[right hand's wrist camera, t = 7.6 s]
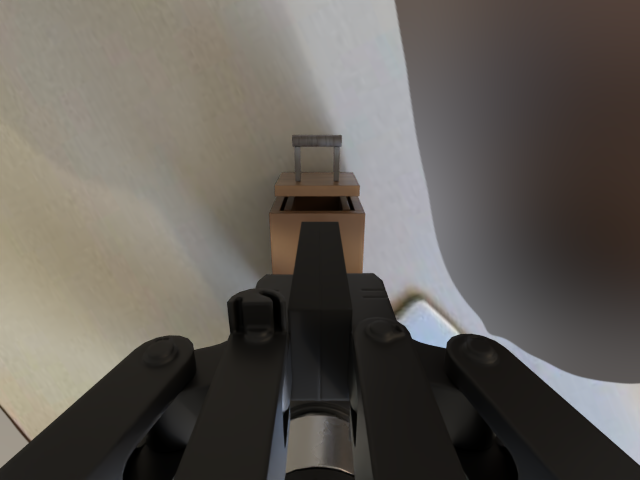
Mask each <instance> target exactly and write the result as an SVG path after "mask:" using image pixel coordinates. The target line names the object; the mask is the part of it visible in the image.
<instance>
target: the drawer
mask: <svg viewBox="0 0 640 480" xmlns="http://www.w3.org/2000/svg"><path fill="white" fill-rule="evenodd" d="M292 144H293V147H295V172H282V173H281V175H280V177H279V178H278V180H277V182H276V184H275V196H289V197H288V200H287V203H286V206H285V209H284V211H350V208H349V204H348V201H347V198H346V196H359V191H360V185H359V183H358V181H357V179H356V178H355V176H354V174H353V172H339V152H340V147H341V146H342V136H341V135H293V136H292ZM300 147H334V172H301V156H300Z"/></svg>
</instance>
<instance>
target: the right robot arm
mask: <svg viewBox="0 0 640 480" xmlns="http://www.w3.org/2000/svg"><path fill="white" fill-rule="evenodd" d="M227 307H228V316H229V325H230V335H229V338H228V341H225V342H223V343H221V344H218V345H214V346H211V347H206V348H201V349H196V350H194V347H193V343H192V342H191V341H190V340H189V339H188V338H185V337H182V336H170V335H169V336H164V337H158V338H155V339H153V340H150V341H148V342H145V343H144V344H142V345H141V346H139V347H138V348H136V349H135V350H134V351H133V352H131V353H130V354H129V355H128V356H127V357H126V358H125V359H124V360H122V361H121V362H120V363H119V364H118V365H117V366H116V367H114V368H113V369H112V370H111V371H110V372H109V373H108V374H107V375H105V376H104V377H103V378H102V379H101V380H100V381H99V382H98V383H96V384H95V385H94V386H93V387H92V388H91V389H90V390H88V391H87V392H86V393H85V394H84V395H83V396H82V397H81V398H79V399H78V400H77V401H76V402H75V403H74V404H73V405H72V406H70V407H69V408H68V409H67V410H66V411H65V412H64V413H62V414H61V415H60V416H59V417H58V418H57V419H56V420H55V421H53V422H52V423H51V424H50V425H49V426H48V427H47V428H45V429H44V430H43V431H42V432H41V433H40V434H39V435H38V436H36V437H35V438H34V439H33V440H32V441H31V442H30V443H29V444H27V445H26V446H25V447H24V448H23V449H22V450H21V451H19V452H18V453H17V454H16V455H15V456H14V457H13V458H12V459H10V460H9V461H8V462H7V463H6V464H5V465H4V466H3V467H1V468H0V480H285V473H286V462H287V451H288V440H289V429H290V396H291V401H349V394H350V419H349V441H352V450H353V461H354V472H355V480H640V465H639V464H637V463H636V462H635V461H634V460H633V459H632V458H631V457H629V456H628V455H627V454H626V453H625V452H624V451H623V450H621V449H620V448H619V447H618V446H617V445H616V444H615V443H613V442H612V441H611V440H610V439H609V438H608V437H607V436H606V435H604V434H603V433H602V432H601V431H600V430H599V429H598V428H596V427H595V426H594V425H593V424H592V423H591V422H590V421H588V420H587V419H586V418H585V417H584V416H583V415H582V414H580V413H579V412H578V411H577V410H576V409H575V408H574V407H572V406H571V405H570V404H569V403H568V402H567V401H566V400H564V399H563V398H562V397H561V396H560V395H559V394H558V393H556V392H555V391H554V390H553V389H552V388H551V387H550V386H548V385H547V384H546V383H545V382H544V381H543V380H542V379H541V378H539V377H538V376H537V375H536V374H535V373H534V372H533V371H531V370H530V369H529V368H528V367H527V366H526V365H525V364H523V363H522V362H521V361H520V360H519V359H518V358H517V357H515V356H514V355H513V354H512V353H511V352H510V351H509V350H507V349H506V348H505V347H504V346H502V345H501V344H499V343H498V342H496V341H494V340H492V339H489V338H487V337H484V336H480V335H475V334H460V335H457V336H454V337H452V338H451V339H450V340H449V341H448V342H447V347H446V348H441V347H437V346H432V345H428V344H424V343H420V342H418V341H416V340H414V339H412V338H411V335H410V333H409V331H408V330H407V328H406V327H405V326H404V325H402V324H401V323H399V322H398V321H397V320H396V318H395V315H394V312H393V309H392V306H391V304H390V301H389V298H388V295H387V292H386V291H385V287H384V284H383V281H382V280H381V279H380V278H379V277H377V276H376V275H375V274H374V273H347V272H346V266H345V259H344V253H343V247H342V241H341V234H340V228H339V222H301V228H300V234H299V241H298V247H297V253H296V259H295V266H294V272H293V274H267V275H265V276H264V277H263V278H262V279H261V280H259V281H258V282H257V285H256V288H255V289H249V290H245V291H242V292H239V293H238V294H236V295H234V296H232V297H231V298H230V299H229V301H228V302H227Z"/></svg>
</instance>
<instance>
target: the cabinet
mask: <svg viewBox="0 0 640 480" xmlns="http://www.w3.org/2000/svg"><path fill="white" fill-rule="evenodd" d="M288 197H289V196H277V197H276V200H275V202H274V204H273V206H272V208H271V211H270V213H269V221H270V239H271V258H272V274H293V272H294V266H295V259H296V253H297V247H298V241H299V234H300V228H301V222H339V228H340V234H341V241H342V247H343V253H344V259H345V266H346V272H347V273H362V269H363V249H364V228H365V212H364V210H363V207H362V205H361V203H360V200H359V198H358V196H346V198H347V201H348V204H349V208H350V211H284V209H285V206H286V203H287V200H288Z"/></svg>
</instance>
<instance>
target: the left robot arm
mask: <svg viewBox="0 0 640 480" xmlns="http://www.w3.org/2000/svg"><path fill="white" fill-rule="evenodd" d="M349 419H350V394H349V401H291V396H290V429H289V440H288V451H287V462H286V473H285V480H355V472H354V461H353V450H352V441H349Z"/></svg>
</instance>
